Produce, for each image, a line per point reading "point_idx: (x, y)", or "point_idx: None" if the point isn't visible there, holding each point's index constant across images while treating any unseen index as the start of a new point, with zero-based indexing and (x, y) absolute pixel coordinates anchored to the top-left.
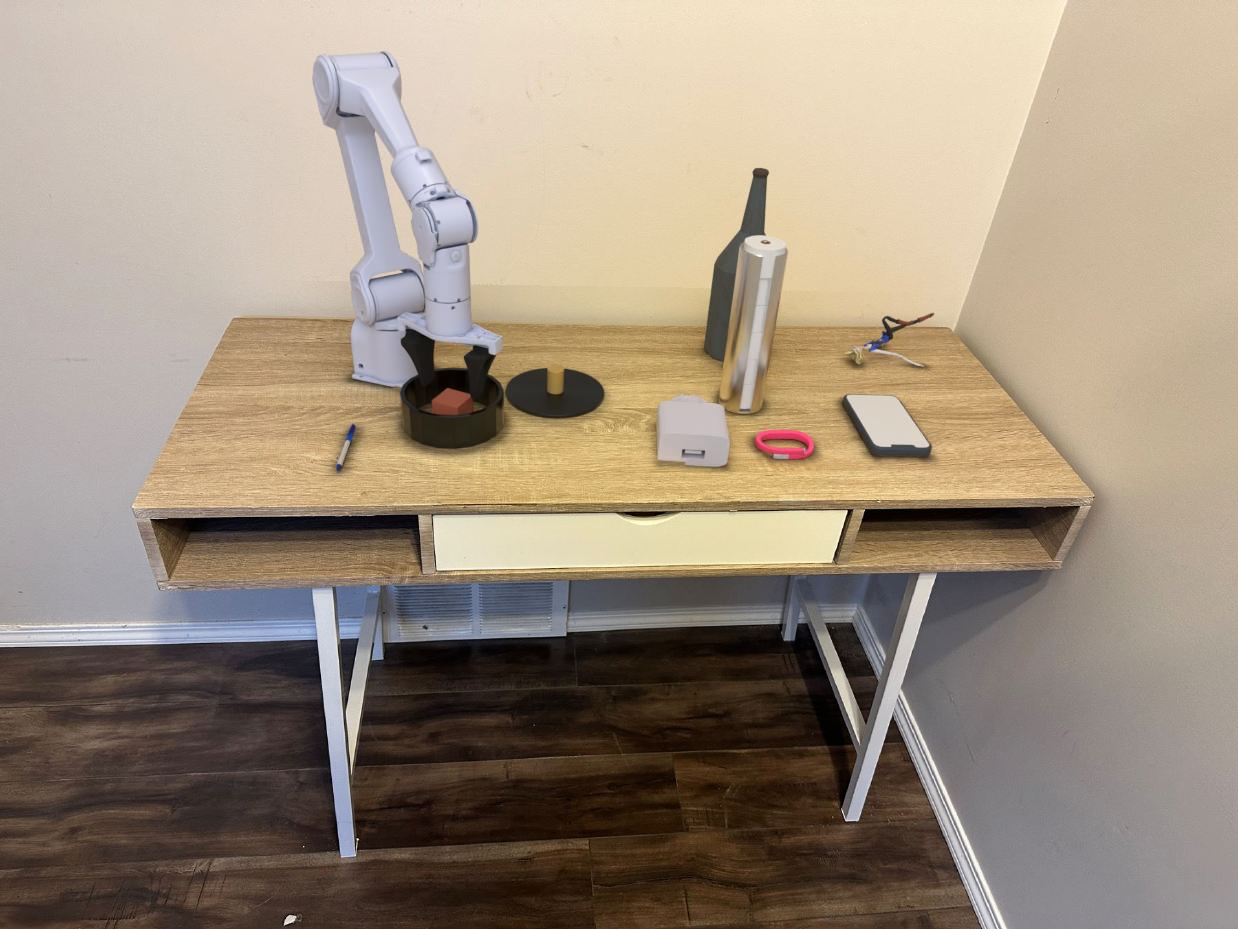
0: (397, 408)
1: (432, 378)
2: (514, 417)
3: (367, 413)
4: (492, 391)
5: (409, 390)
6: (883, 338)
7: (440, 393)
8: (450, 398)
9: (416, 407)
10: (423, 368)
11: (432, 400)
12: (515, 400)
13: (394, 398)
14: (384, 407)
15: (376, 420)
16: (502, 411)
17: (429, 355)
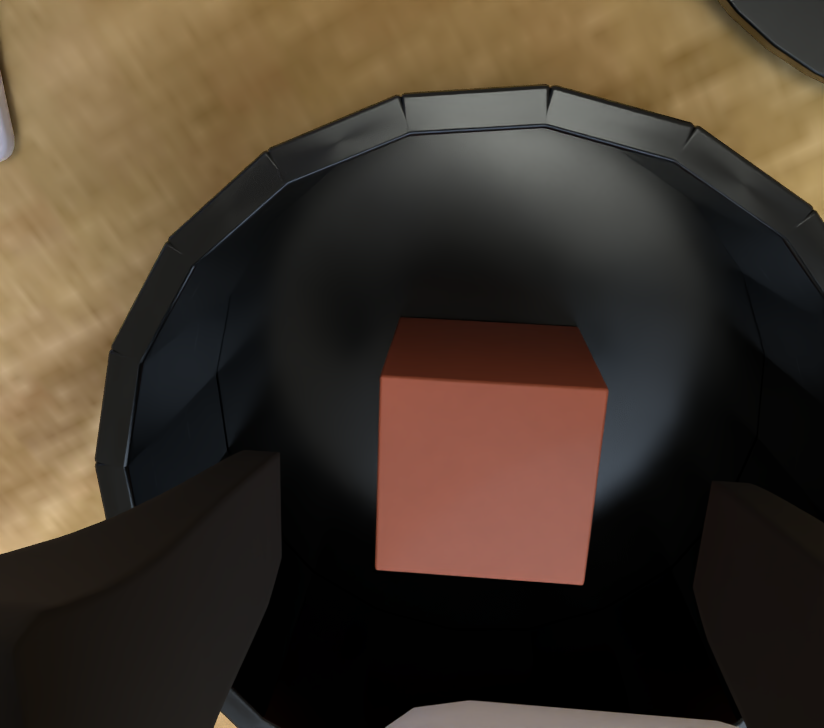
0: (98, 362)
1: (274, 477)
2: (802, 149)
3: (3, 470)
4: (692, 187)
5: None
6: None
7: (267, 221)
8: (479, 500)
9: (211, 377)
10: (228, 663)
11: (379, 566)
12: (790, 7)
13: (8, 269)
14: (32, 382)
15: (89, 509)
16: None
17: (188, 613)
